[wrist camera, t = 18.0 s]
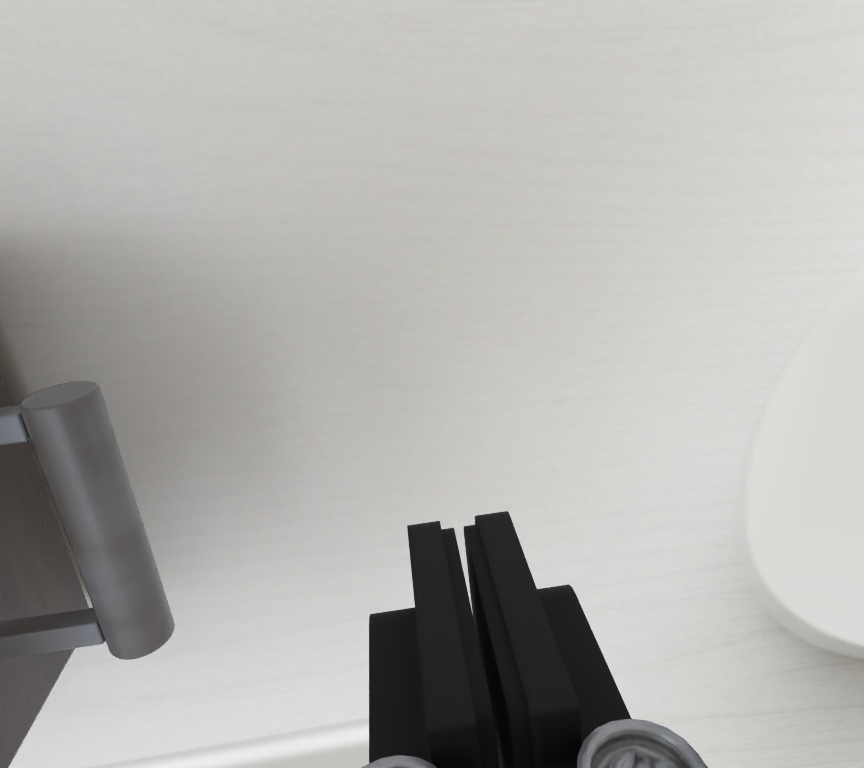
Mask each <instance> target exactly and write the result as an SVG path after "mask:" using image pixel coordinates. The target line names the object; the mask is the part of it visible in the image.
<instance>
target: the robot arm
mask: <svg viewBox="0 0 864 768" xmlns="http://www.w3.org/2000/svg"><path fill="white" fill-rule="evenodd" d="M407 528H408V538H409V548H410V559H411V569H412V579H413V590H414V600H415V608H409V609H403V610H396V611H389V612H382V613H376V614H370V619H369V764H367V765H365V766H363V767H362V768H708V767H707V766H706V764H705V763H704V762H703V760H702V759H701V757H700V756H699V755H698V753H697V752H696V751H695V750H694V749H693V748H692V747H691V746H690V745H689V744H688V743H687V742H686V741H685V739H683V738H682V737H680V736H679V735H677V734H676V733H674V732H673V731H671V730H670V729H668V728H666V727H663V726H661V725H658V724H655V723H652V722H650V721H645V720H636V719H631V717H630V715H629V713H628V710H627V708H626V706H625V704H624V701H623V699H622V697H621V695H620V692H619V690H618V688H617V686H616V683H615V681H614V679H613V677H612V675H611V672H610V670H609V668H608V666H607V663H606V661H605V659H604V657H603V654H602V652H601V650H600V648H599V645H598V643H597V641H596V639H595V637H594V634H593V632H592V630H591V628H590V625H589V623H588V621H587V619H586V616H585V614H584V612H583V610H582V608H581V605H580V603H579V601H578V599H577V596H576V594H575V592H574V590H573V589H572V587H571V586H570V585H563V586H556V587H550V588H543V589H537V588H536V586H535V583H534V580H533V578H532V575H531V572H530V569H529V567H528V564H527V561H526V559H525V556H524V553H523V550H522V548H521V545H520V542H519V540H518V537H517V534H516V531H515V529H514V526H513V523H512V520H511V518H510V515H509V513H508V512H507V511H506V512H499V513H492V514H485V515H478V516H475V525H471V526H464V537H465V547H466V556H467V565H468V574H469V584H470V593H471V602H472V611H471V606H470V601H469V597H468V592H467V587H466V583H465V578H464V573H463V569H462V564H461V559H460V555H459V550H458V545H457V541H456V536H455V531H454V528H450V529H443V530H441V526H440V521H436V522H429V523H422V524H415V525H408V526H407ZM472 612H473V615H472Z"/></svg>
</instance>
